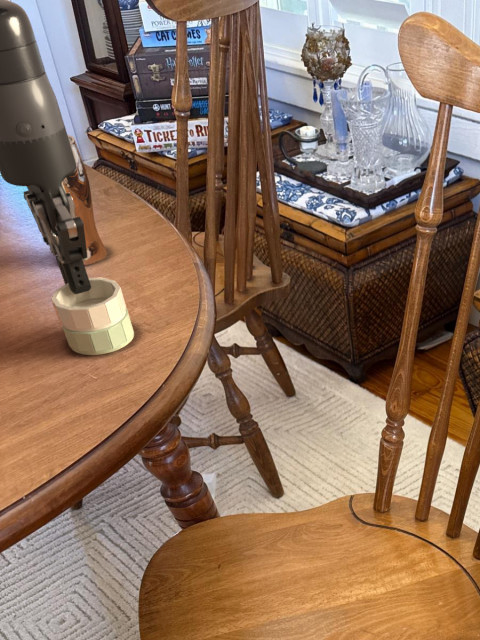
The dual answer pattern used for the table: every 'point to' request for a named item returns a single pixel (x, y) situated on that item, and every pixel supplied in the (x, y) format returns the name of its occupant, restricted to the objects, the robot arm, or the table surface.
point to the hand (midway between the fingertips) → (78, 287)
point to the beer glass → (84, 206)
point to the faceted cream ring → (90, 306)
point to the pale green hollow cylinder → (101, 338)
